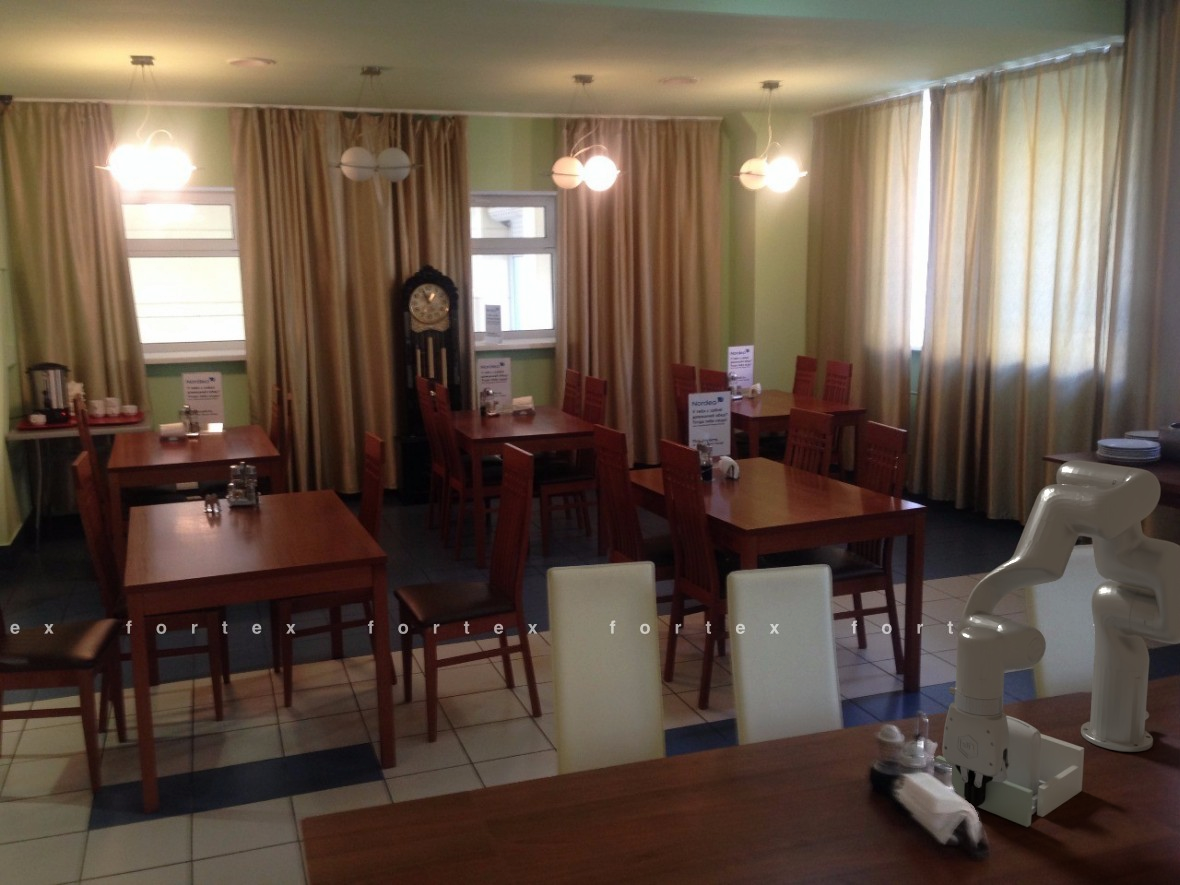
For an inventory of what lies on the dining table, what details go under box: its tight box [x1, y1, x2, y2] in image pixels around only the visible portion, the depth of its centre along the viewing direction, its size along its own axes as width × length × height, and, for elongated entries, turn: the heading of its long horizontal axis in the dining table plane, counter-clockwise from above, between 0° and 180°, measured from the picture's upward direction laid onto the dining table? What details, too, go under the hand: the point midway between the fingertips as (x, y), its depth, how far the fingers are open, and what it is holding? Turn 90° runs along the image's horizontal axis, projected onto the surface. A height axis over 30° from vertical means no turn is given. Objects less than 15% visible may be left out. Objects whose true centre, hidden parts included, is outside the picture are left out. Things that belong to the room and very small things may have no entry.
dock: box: [1036, 733, 1085, 818], centre depth 183 cm, size 14×17×8 cm
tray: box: [934, 754, 1046, 828], centre depth 179 cm, size 14×17×6 cm
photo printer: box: [1006, 715, 1041, 795], centre depth 181 cm, size 10×4×12 cm, turn 39°
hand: (974, 804), depth 174 cm, fingers closed
